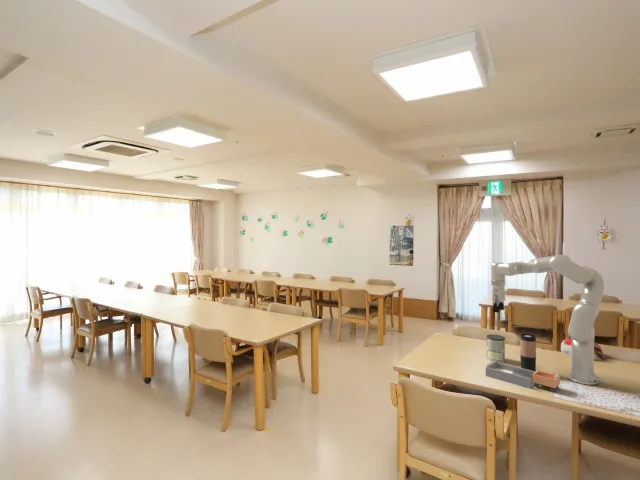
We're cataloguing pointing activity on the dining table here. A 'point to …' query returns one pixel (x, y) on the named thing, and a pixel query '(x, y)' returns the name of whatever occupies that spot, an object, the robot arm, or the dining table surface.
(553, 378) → the orange drawer with handle
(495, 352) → the coffee can
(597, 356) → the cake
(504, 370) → the drawer housing
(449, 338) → the dining table surface
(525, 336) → the travel mug
